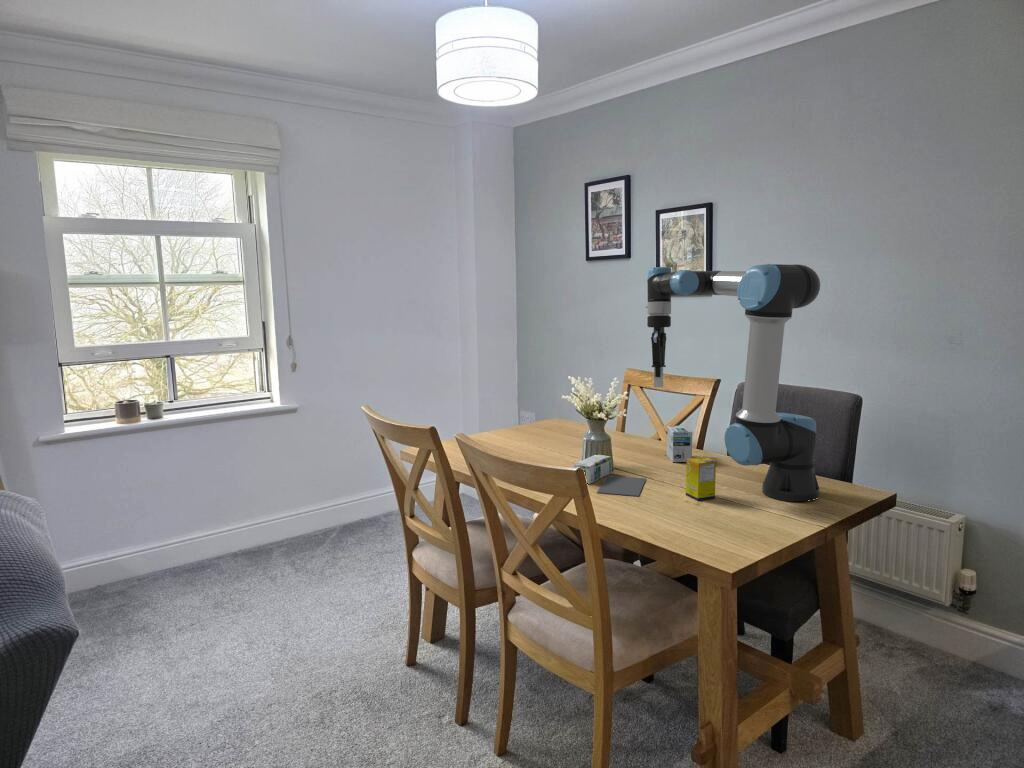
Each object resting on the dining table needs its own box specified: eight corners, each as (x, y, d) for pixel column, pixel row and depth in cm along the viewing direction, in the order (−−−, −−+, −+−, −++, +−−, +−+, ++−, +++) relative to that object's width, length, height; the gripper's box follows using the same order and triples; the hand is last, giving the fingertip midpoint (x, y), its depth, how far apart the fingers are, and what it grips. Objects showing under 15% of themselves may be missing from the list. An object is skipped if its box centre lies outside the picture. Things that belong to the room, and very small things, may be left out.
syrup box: (611, 473, 217) (589, 484, 205) (595, 470, 220) (572, 481, 208) (612, 456, 216) (590, 466, 204) (595, 453, 219) (573, 463, 207)
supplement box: (702, 492, 196) (703, 455, 195) (715, 498, 191) (716, 460, 189) (684, 495, 194) (685, 457, 193) (697, 501, 189) (698, 463, 187)
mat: (607, 476, 214) (607, 475, 213) (646, 479, 210) (646, 478, 210) (596, 493, 197) (596, 492, 197) (638, 496, 193) (638, 495, 193)
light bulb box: (692, 463, 228) (693, 431, 227) (672, 463, 229) (673, 431, 227) (684, 455, 239) (685, 425, 237) (665, 455, 239) (666, 425, 238)
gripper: (652, 316, 230) (651, 385, 232) (643, 314, 218) (642, 388, 220) (674, 315, 227) (673, 385, 228) (666, 314, 215) (666, 388, 217)
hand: (658, 386), depth 224 cm, fingers closed
